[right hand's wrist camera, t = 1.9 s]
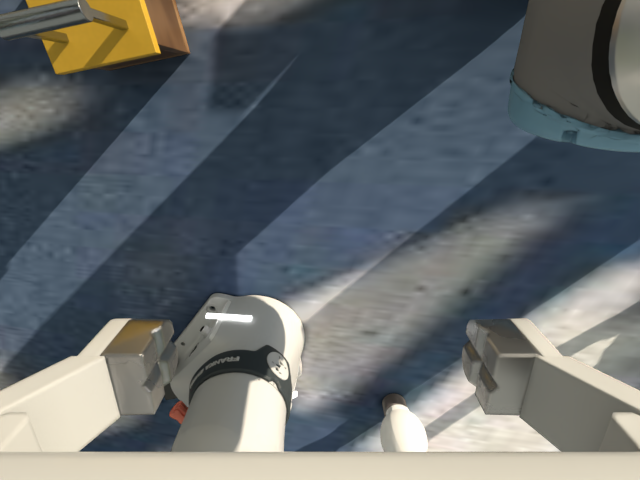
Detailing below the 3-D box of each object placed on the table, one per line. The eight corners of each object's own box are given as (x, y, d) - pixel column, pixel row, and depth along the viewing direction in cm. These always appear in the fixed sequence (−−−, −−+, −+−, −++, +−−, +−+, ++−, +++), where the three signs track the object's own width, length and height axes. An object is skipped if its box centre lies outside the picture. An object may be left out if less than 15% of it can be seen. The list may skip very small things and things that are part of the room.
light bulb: (366, 399, 61) (375, 460, 51) (402, 380, 60) (419, 439, 50) (388, 424, 63) (401, 488, 53) (423, 406, 62) (443, 469, 52)
